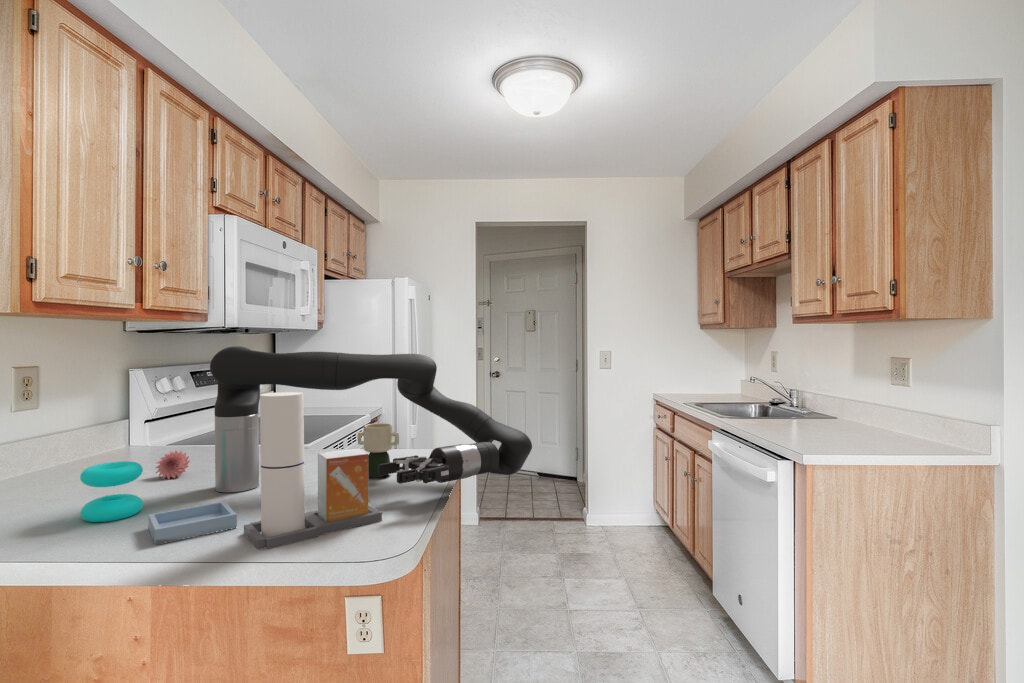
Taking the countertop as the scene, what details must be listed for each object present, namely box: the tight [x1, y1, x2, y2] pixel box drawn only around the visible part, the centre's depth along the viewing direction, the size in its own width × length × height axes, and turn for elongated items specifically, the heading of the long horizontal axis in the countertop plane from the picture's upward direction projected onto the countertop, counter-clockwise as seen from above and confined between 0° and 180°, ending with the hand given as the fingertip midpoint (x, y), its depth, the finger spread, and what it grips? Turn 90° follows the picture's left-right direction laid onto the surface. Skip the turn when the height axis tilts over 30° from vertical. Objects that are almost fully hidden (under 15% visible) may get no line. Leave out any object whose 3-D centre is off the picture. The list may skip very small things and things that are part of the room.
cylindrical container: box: [259, 391, 306, 538], centre depth 97 cm, size 7×7×25 cm
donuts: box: [79, 461, 144, 523], centre depth 108 cm, size 10×10×10 cm
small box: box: [317, 447, 369, 523], centre depth 104 cm, size 8×6×13 cm
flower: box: [155, 449, 191, 481], centre depth 139 cm, size 8×8×6 cm
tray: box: [147, 500, 238, 546], centre depth 100 cm, size 11×13×3 cm
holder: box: [243, 504, 383, 550], centre depth 100 cm, size 11×22×2 cm, turn 129°
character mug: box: [357, 422, 400, 478], centre depth 137 cm, size 11×7×13 cm, turn 82°
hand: (387, 473), depth 110 cm, fingers open, 8 cm apart
